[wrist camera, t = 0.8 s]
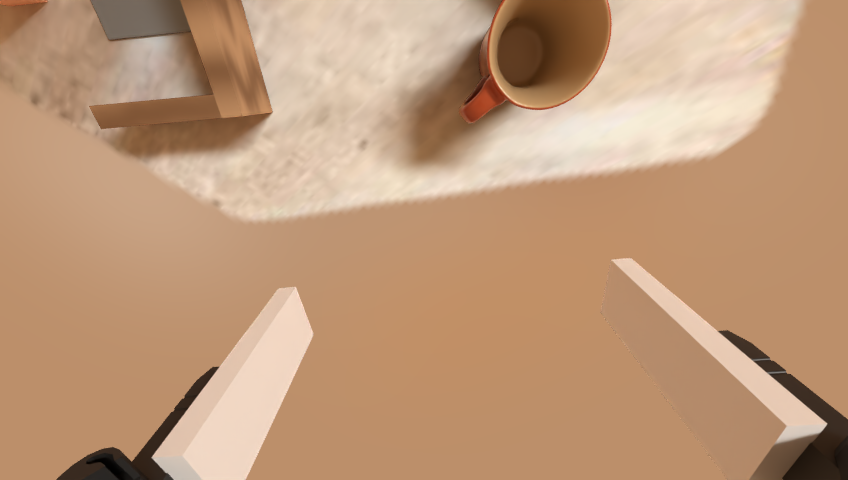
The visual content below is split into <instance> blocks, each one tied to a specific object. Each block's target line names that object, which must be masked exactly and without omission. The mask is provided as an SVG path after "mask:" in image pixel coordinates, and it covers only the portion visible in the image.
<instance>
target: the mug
mask: <svg viewBox="0 0 848 480" xmlns="http://www.w3.org/2000/svg"><path fill="white" fill-rule="evenodd" d="M610 36H611V12H610V7H609V3H608V0H502V2H501V4H500V5H499V7H498V9H497V11H496V13H495V15H494V18H493V20H492V23H491V26H490V28H489V29H488V31H487V32H486V34H485V36H484V39H483V42H482V45H481V49H480V53H479V68H480V73H481V76H482V79H481V80H480V81H479V83H478V84H477V86H476V87H475V89H474V90H473V92H472V93H471V94H470V96H469V97H468V98H467V99H466V100H465V101H464V102H463V103H462V105H461V106H460V108H459V114H460V116H461V117H462V118H463V119H464V121H465V122H467V123H474V122H476V121H477V120H479V119H480V118H481V117H483V116H484V115H485V114H486V113H487V112H489V111H490V110H491V109H492V108H494V107H496V106H498V105H500V104H502V103H503V102H505V101H506V100H508V101H509V102H511V103H512V104H514V105H515V106H518V107H521V108H525V109H531V110H544V109H550V108H554V107H557V106H559V105H562V104H564V103H566V102H568V101H569V100H571V99H572V98H574V97H575V96H577V95H578V94H579V93H580V92H581V91H582V90H584V89H585V88H586V86H587V85H588V84H589V83H590V82H591V81H592V79H593V78H594V77H595V75H596V74H597V72H598V70H599V69H600V67H601V65H602V63H603V61H604V58H605V56H606V53H607V50H608V47H609V42H610Z"/></svg>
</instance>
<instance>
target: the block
mask: <svg viewBox="0 0 848 480" xmlns="http://www.w3.org/2000/svg"><path fill="white" fill-rule="evenodd" d="M42 2H48V1H47V0H0V4H2V5H7V6H16V5H25V4H33V3H42Z"/></svg>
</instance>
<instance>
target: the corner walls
mask: <svg viewBox="0 0 848 480" xmlns="http://www.w3.org/2000/svg"><path fill="white" fill-rule="evenodd" d="M180 1H181V4H182V7H183V9H184V12H185V15H186V18H187V21H188V24H189V26H190V29H191V32H192V35H193V38H194V41H195V43H196V46H197V49H198V52H199V55H200V57H201V60H202V63H203V66H204V69H205V72H206V74H207V77H208V80H209V83H210V86H211V89H212V91H213V95H202V96H192V97H181V98H170V99H160V100H149V101H138V102H128V103H117V104H107V105H96V106H89V107H90V109H91V111H92V113H93V115H94V117H95V118H96V120H97V122H98V124H99V126H100V128H101V129H106V128H117V127H129V126H140V125H151V124H162V123H173V122H184V121H195V120H206V119H217V118H229V117H240V116H248V115H256V114H264V113H271V112H272V108H271V105H270V101H269V97H268V94H267V90H266V87H265V83H264V80H263V76H262V73H261V69H260V66H259V62H258V58H257V55H256V51H255V48H254V44H253V41H252V37H251V34H250V30H249V26H248V23H247V19H246V16H245V12H244V9H243V5H242V2H241V0H180Z"/></svg>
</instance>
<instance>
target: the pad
mask: <svg viewBox="0 0 848 480" xmlns="http://www.w3.org/2000/svg"><path fill="white" fill-rule="evenodd" d="M91 2H92V5H93V7H94V9H95V11H96V13H97V15H98V18H99V20H100V22H101V24H102V26H103V28H104V31H105V33H106V35H107V37H108V39H109V40H114V39H123V38H133V37H142V36H152V35H161V34H171V33H180V32H190V31H191V29H190V26H189V24H188V21H187V18H186V15H185V12H184V9H183V7H182V4H181V1H180V0H91Z"/></svg>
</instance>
